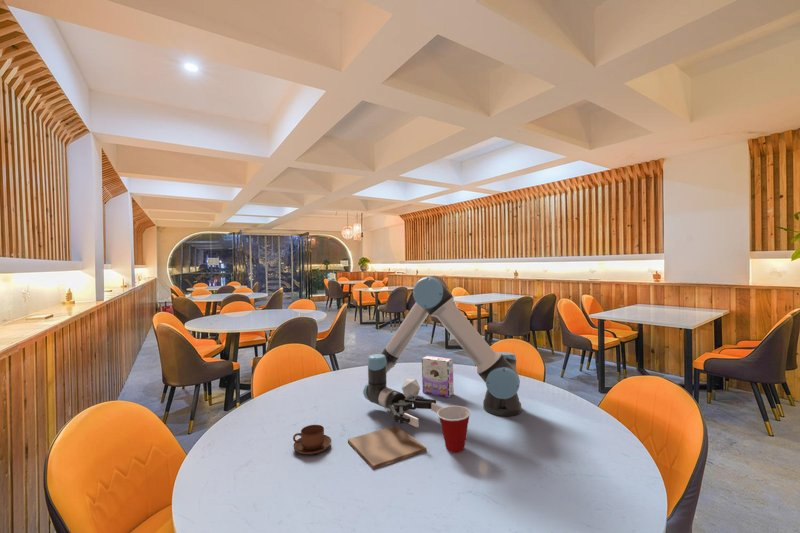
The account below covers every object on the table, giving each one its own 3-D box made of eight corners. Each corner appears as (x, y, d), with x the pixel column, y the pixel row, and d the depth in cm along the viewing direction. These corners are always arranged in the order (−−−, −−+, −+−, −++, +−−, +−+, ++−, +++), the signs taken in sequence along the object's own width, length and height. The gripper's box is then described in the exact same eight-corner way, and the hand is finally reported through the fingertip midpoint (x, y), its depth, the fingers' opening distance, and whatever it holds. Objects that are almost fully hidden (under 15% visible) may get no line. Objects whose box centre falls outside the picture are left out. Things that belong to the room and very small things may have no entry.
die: (414, 403, 154) (425, 383, 157) (397, 392, 155) (408, 373, 158) (413, 403, 161) (423, 384, 164) (397, 393, 163) (407, 374, 166)
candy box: (454, 394, 163) (453, 358, 163) (448, 398, 158) (448, 361, 158) (427, 388, 170) (427, 354, 170) (421, 392, 165) (421, 357, 165)
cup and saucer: (297, 462, 107) (297, 441, 107) (290, 444, 118) (290, 426, 118) (335, 452, 113) (335, 432, 113) (325, 436, 123) (325, 418, 123)
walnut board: (396, 428, 128) (396, 425, 128) (426, 450, 112) (426, 447, 112) (347, 442, 119) (347, 439, 119) (373, 469, 102) (373, 465, 102)
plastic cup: (434, 441, 119) (434, 405, 119) (466, 439, 119) (465, 403, 120) (441, 458, 108) (440, 419, 108) (475, 456, 109) (474, 417, 109)
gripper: (415, 401, 145) (455, 417, 129) (366, 419, 129) (405, 440, 113) (415, 383, 145) (455, 397, 129) (366, 398, 129) (404, 416, 113)
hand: (432, 417), depth 121 cm, fingers open, 13 cm apart
